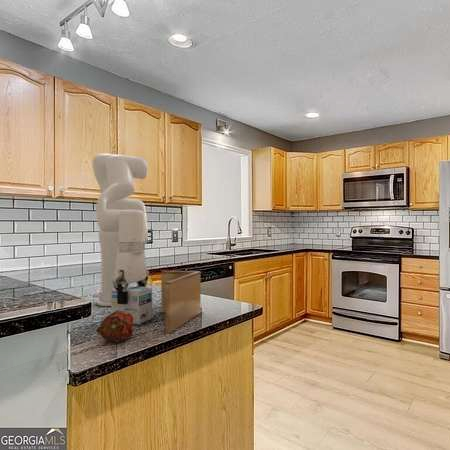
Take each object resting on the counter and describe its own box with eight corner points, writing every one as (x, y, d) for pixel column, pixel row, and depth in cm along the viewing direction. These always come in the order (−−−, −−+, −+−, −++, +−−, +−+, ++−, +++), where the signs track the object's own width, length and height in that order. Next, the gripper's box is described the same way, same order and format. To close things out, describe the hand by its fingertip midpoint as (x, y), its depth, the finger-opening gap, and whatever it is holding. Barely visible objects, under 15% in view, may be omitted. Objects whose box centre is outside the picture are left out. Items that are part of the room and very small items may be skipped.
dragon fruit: (120, 353, 83) (109, 346, 92) (147, 327, 88) (134, 323, 97) (96, 330, 80) (87, 326, 89) (126, 305, 86) (115, 303, 94)
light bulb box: (153, 318, 108) (153, 286, 107) (139, 325, 101) (139, 290, 101) (125, 316, 110) (125, 285, 110) (110, 322, 103) (109, 289, 103)
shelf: (125, 330, 96) (124, 280, 96) (163, 311, 116) (163, 270, 116) (170, 332, 94) (169, 282, 94) (201, 313, 114) (200, 271, 114)
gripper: (138, 245, 114) (138, 294, 114) (101, 249, 97) (102, 307, 97) (157, 245, 113) (158, 294, 113) (124, 249, 96) (124, 307, 96)
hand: (132, 300), depth 105 cm, fingers open, 8 cm apart
